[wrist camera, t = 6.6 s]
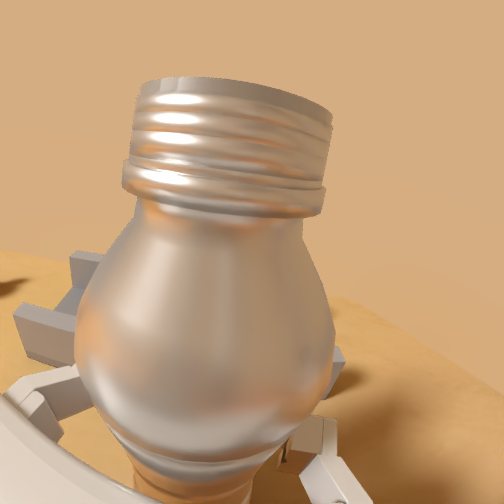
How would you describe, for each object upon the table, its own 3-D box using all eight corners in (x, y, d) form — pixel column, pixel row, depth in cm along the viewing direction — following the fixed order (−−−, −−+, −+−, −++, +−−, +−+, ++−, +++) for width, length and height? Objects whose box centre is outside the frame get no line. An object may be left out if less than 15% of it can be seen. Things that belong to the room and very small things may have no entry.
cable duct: (294, 314, 35) (304, 280, 33) (325, 399, 22) (345, 361, 20) (80, 286, 31) (76, 250, 29) (27, 357, 18) (12, 314, 16)
